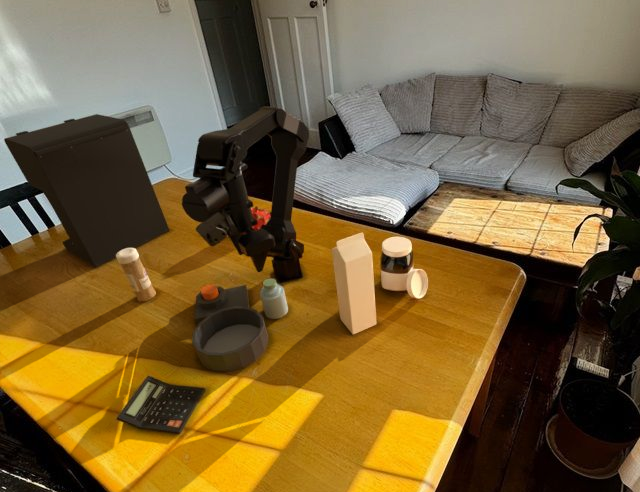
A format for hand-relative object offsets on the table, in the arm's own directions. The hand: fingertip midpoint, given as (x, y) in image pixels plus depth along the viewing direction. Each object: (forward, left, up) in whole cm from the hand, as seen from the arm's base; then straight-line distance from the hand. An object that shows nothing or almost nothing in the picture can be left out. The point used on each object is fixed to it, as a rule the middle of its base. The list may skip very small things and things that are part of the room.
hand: (250, 262), depth 91 cm
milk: (-20, +14, -13) cm, 27 cm away
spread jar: (-34, +6, -13) cm, 37 cm away
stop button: (+11, -3, -9) cm, 14 cm away
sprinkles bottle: (+28, -14, -13) cm, 34 cm away
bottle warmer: (+7, +12, -12) cm, 18 cm away
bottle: (-3, +4, -12) cm, 13 cm away
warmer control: (+9, -2, -12) cm, 16 cm away
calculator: (+20, +24, -13) cm, 34 cm away
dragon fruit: (-2, -38, -13) cm, 40 cm away
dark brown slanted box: (+39, -50, -13) cm, 65 cm away
